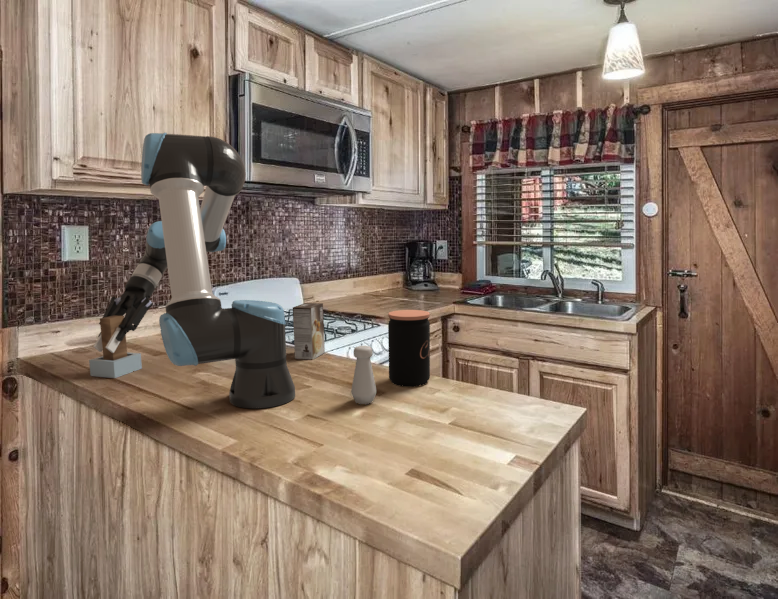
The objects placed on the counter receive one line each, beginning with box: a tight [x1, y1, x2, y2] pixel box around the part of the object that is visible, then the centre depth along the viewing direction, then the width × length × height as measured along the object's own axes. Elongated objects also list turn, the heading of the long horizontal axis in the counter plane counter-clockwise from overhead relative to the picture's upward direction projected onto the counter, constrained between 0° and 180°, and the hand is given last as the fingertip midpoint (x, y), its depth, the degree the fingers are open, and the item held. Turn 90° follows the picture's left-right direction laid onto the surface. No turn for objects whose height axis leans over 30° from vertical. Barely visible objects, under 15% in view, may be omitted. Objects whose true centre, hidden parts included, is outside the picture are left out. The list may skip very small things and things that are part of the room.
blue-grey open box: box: [88, 351, 143, 379], centre depth 149 cm, size 8×10×4 cm
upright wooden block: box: [99, 315, 128, 361], centre depth 148 cm, size 4×5×12 cm
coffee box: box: [292, 302, 326, 360], centre depth 164 cm, size 9×6×16 cm
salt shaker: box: [350, 345, 377, 405], centre depth 121 cm, size 6×6×13 cm
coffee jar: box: [387, 309, 431, 388], centre depth 136 cm, size 11×11×18 cm
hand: (103, 349), depth 145 cm, fingers closed on upright wooden block, 3 cm apart
